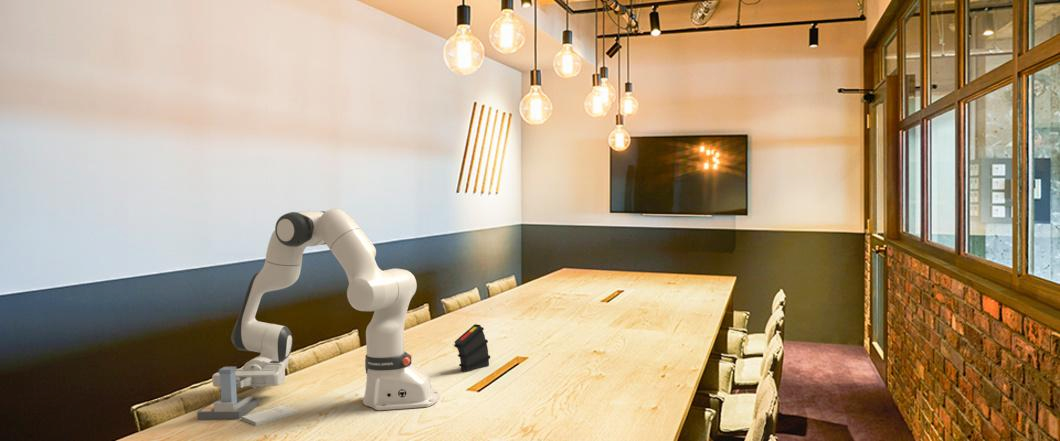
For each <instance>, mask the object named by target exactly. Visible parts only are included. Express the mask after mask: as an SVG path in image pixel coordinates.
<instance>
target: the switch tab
mask: <svg viewBox="0 0 1060 441" xmlns="http://www.w3.org/2000/svg"><path fill="white" fill-rule="evenodd" d="M236 369H237V366H223V367H222V368H221V367H220V368H219V369H218V372H219V374H220V386H219V387H220V399H221V403H225V402H234V403H235V405H236V404H237V399H238V396H237V394H238V393H237V388H236Z"/></svg>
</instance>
